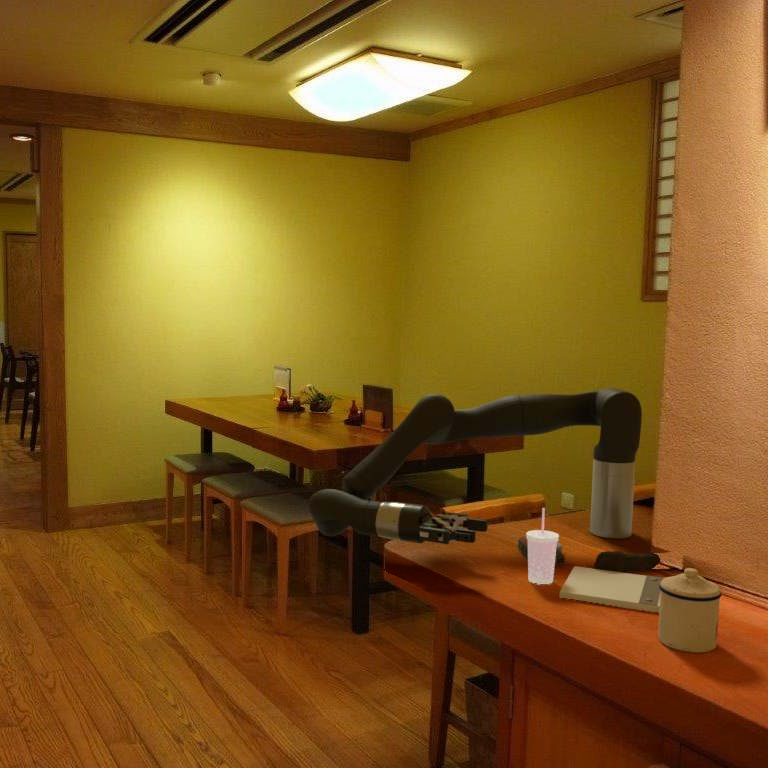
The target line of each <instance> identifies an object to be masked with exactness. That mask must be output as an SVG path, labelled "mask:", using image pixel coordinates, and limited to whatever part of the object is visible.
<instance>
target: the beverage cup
mask: <svg viewBox="0 0 768 768" xmlns="http://www.w3.org/2000/svg"><path fill="white" fill-rule="evenodd" d="M541 509H542V510H541V529H533V530H529V531H526V534H525V537H526V538H527V539H528V560H527V569H528V570H527V576H528V577H527V578H528V581H529V582H530V583H531V582H532V584H534V583H537V584H536V585H540V584H548V585H551V584H553V583H552V582H554V575H555V566H556V565H555V557H556V548H557V541H559V538H560V534H559V533H557V532H554V531H552V530H551V531H550V530H545V519H546V518H545V517H546V514H545V512H546V507H542V508H541ZM550 583H551V584H550Z"/></svg>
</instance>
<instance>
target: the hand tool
mask: <svg viewBox="0 0 768 768" xmlns="http://www.w3.org/2000/svg"><path fill="white" fill-rule="evenodd" d="M659 562H660V558H659V556H658V555H657V554H654V553H653V552H648V553H624V552H622V551H621V550H614V551H612V550H611V551H610V550H609V551H600V552H599V554H597V556H596V559H595V561H594V564H593V569H600V570H607V571H614V572H622V573H630V572H641V571H652V570H651V569H652V568H654V567H655V566H656V565H658V563H659Z"/></svg>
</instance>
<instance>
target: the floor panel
mask: <svg viewBox="0 0 768 768" xmlns="http://www.w3.org/2000/svg"><path fill="white" fill-rule="evenodd" d="M665 578H666V577H662V576H653V575H647V574H646V575H642V574H634V573H630V572H624V573H622V572H614V571H607V570H600V569H594V568H592V567H585V566H584V567H583V566H577V565H575V566H574V567H572V570H571V572H570V573H569V575H568V576H567V578H566V580H565V581H564V583H563V585H562V587H561V589H560V590H559V599H562V598H567V599H566V600H569V599H575V600H574V601H576V600H582V601H588V602H587V603H589V602H593V603H592V604H595V603H599V604H598V605H602V604H605V605H604V606H609V605H611V606H610V607H615V606H617V607H618V608H623V609H630V610H635V609H636V610H637V611H642V610H644V612H649V611H650V613H655V612H657V613H656V614H659V611H660V593H661V590H660V588H659V585H660V583H661V581H662V580H663V579H665ZM582 601H581V602H582Z"/></svg>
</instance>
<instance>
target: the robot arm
mask: <svg viewBox="0 0 768 768" xmlns="http://www.w3.org/2000/svg"><path fill="white" fill-rule="evenodd" d="M642 412H643V411H642V405H641V402H640V400H639V398H638V397H637V396H636V395H634V394H633V393H631V392H629V391H626V390H624V389H623V390H622V389H619V388H612V387H611V388H609V387H608V388H603V389H598V390H594V391H593V390H592V391H588V392H587V391H586V392H580V393H574V394H571V393H570V394H559V393H536V394H535V393H533V394H532V393H531V394H530V393H528V394H515V395H508V396H504V397H500V398H497V399H494V400H491V401H488V402H486V403H484V404H481V405H477V406H474V407H470V408H463V409H462V408H461V409H455V407H454V404H453V403H452V401H451V400H450V399H449V398H448V397H446V396H444V395H442V394H439V393H432V394H428V395H425V396H423V397H421V398H420V399H419V400H418V401H417V403H416V404H415V405H414V407H412V409H411V410H410V412H409V413H408V414H407V415H406V417H405V418H404V419H403V421H401V422H400V424H399V425H398V426H397V427H396V428H395V429H394V430H393V431H392V432H391V433H390V434H389V436H387V437H386V438H385V439H384V440H383V441H382V442H381V443H380V444H379V445H378V446H377V447H376V448H375V449H374V450H373V451H371V452H370V453H369V454H368V455H367V456H366V457H364V458H363V459H362V460H361V461H360V462H359V463H358V464H357V465H355V467H354V468H352V469H351V470H350V471H349V472H348V473H347V474H346V475H344V477H343V478H342V480H341V490H338V489H333V488H325V489H324V488H323V489H321V490H318V491H316V492H314V493H313V494H312V495H311V496H310V498H309V499H308V511H309V513H310V517H311V518H312V519H313V521H314V523H315V525H316V527H317V530H319V532H320V533H321V534H322V535H324V536H327V537H336V536H338V535H339V534H342V533H343V532H345V531H346V530H347V529H348V528H349V527H351V529H352V530H354V531H355V532H356V533H358V534H361V535H366V536H372V537H373V536H374V537H380V538H385V539H388V540H392V541H400V542H408V543H417V544H423V543H424V542H430V543H431V542H432V543H436V544H437V543H438V544H442V545H448V544H450V543H456V542H461V543H462V542H463V543H467V544H468V543H469V544H474V543H475V542H476V537H477V535H476V534H477V533H476V532H482V533H485V532H487V531H488V528H489V526H488V521H487V520H485V519H477V518H470V514H468V513H458V512H457V513H456V512H448V511H447V512H446V511H440V513H439V514H438V513H437V514H436V515H431V513H430V508H429V507H428V506H427V505H425V504H424V505H423V504H417V503H416V504H415V503H409V502H408V503H407V502H398V501H378V500H371V498H372V497H373V496H374V495H375V494H376V493H377V492H378V491H379V490H380V489H381V488H383V487H384V486H385V485H386V484H387V483H388V482H389V481H390V479H392V478H393V477H394V475H395V474H396V473H397V472H398V470H399V469H400V468H401V466H402V465H403V464H404V462H405V461H406V460H407V459H408V458H409V456H411V454H412V453H414V451H416V449H418V447H420V446H421V445H422V444H425V445H429V446H430V445H433V446H434V445H442V444H448V443H454V442H459V441H466V440H470V439H471V440H472V439H487V438H488V439H489V438H502V437H504V438H505V437H523V436H524V437H526V436H537V435H542V434H548V433H551V432H554V431H557V430H561V429H565V428H568V427H574V426H575V427H576V426H592V427H593V426H594V427H595V426H596V427H600V430H599V431H600V433H599V439H598V443H597V444H596V445H595V446H594V448H593V459H592V460H593V461H592V478H591V479H592V480H591V481H592V482H591V501H590V503H591V504H590V521H589V522H590V523H589V532H590V533H591V534H592V535H593V536H594V535H595V536H597V537H600V538H601V537H602V538H607V539H626V538H630V537H631V536H632V528H633V526H632V525H633V513H634V512H633V511H634V510H633V509H634V508H633V507H634V490H635V473H636V472H635V469H636V455H637V452H638V450H639V448H640V443H641V442H640V441H641V431H642V419H643V417H642V416H643V413H642ZM369 499H370V500H369ZM461 521H462V522H461Z"/></svg>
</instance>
